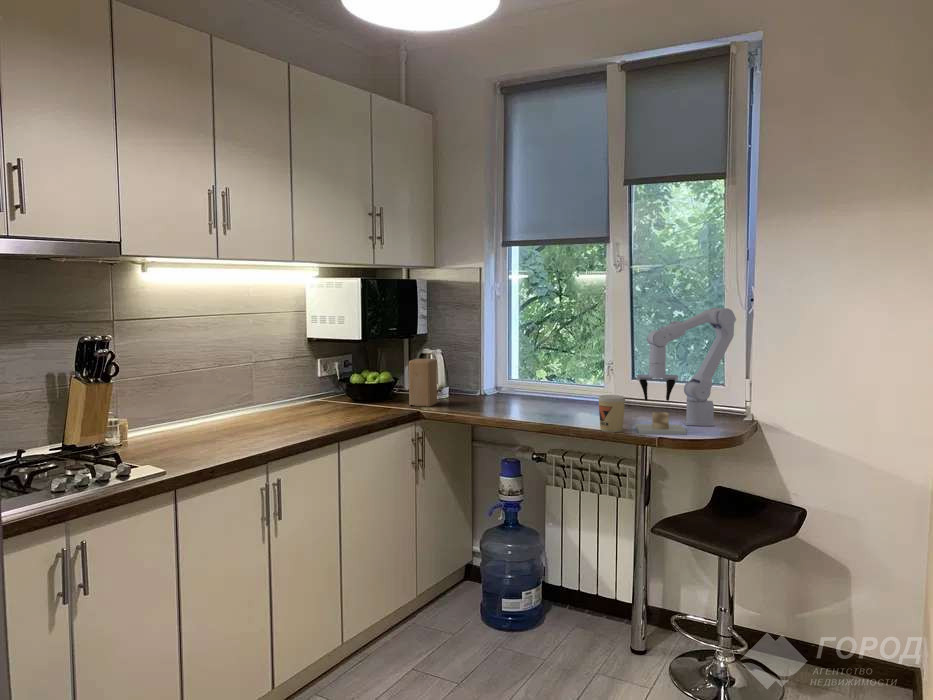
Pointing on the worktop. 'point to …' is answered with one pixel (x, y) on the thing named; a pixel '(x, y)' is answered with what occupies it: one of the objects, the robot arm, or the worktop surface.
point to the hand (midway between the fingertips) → (656, 400)
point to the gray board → (650, 430)
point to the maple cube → (660, 420)
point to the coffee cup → (611, 412)
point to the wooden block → (423, 382)
